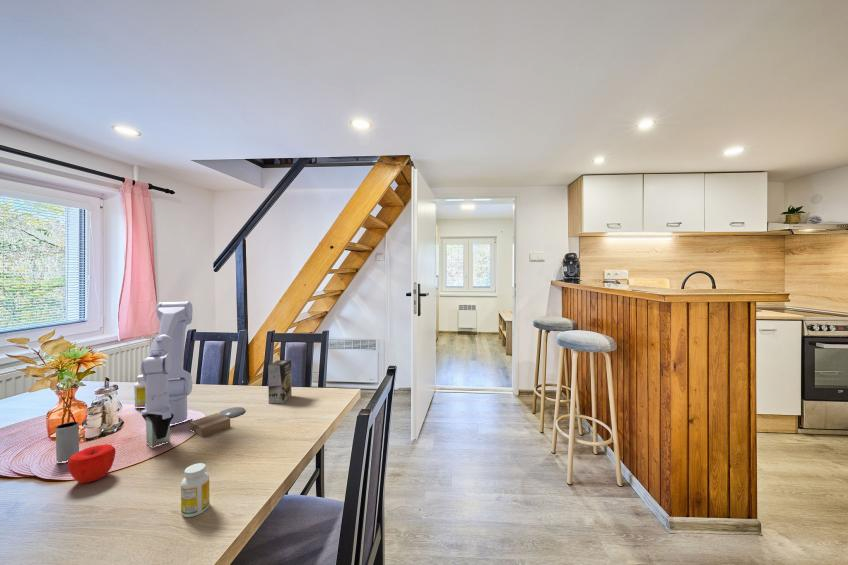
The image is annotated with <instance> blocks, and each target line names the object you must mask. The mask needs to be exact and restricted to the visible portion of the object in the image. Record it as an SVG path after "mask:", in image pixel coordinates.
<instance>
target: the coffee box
mask: <svg viewBox="0 0 848 565" xmlns="http://www.w3.org/2000/svg"><path fill="white" fill-rule="evenodd" d="M267 367H268V371H267V373H268V374H267V375H268V376H267V378H268V403H269V404H283V403H285V402H286V401H287V400H288V399H290V397H292V394H293V393H292V360H291V359H283V360H281V359H279V360H276V361H273V362H272V363H269V364H268V365H267Z"/></svg>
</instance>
